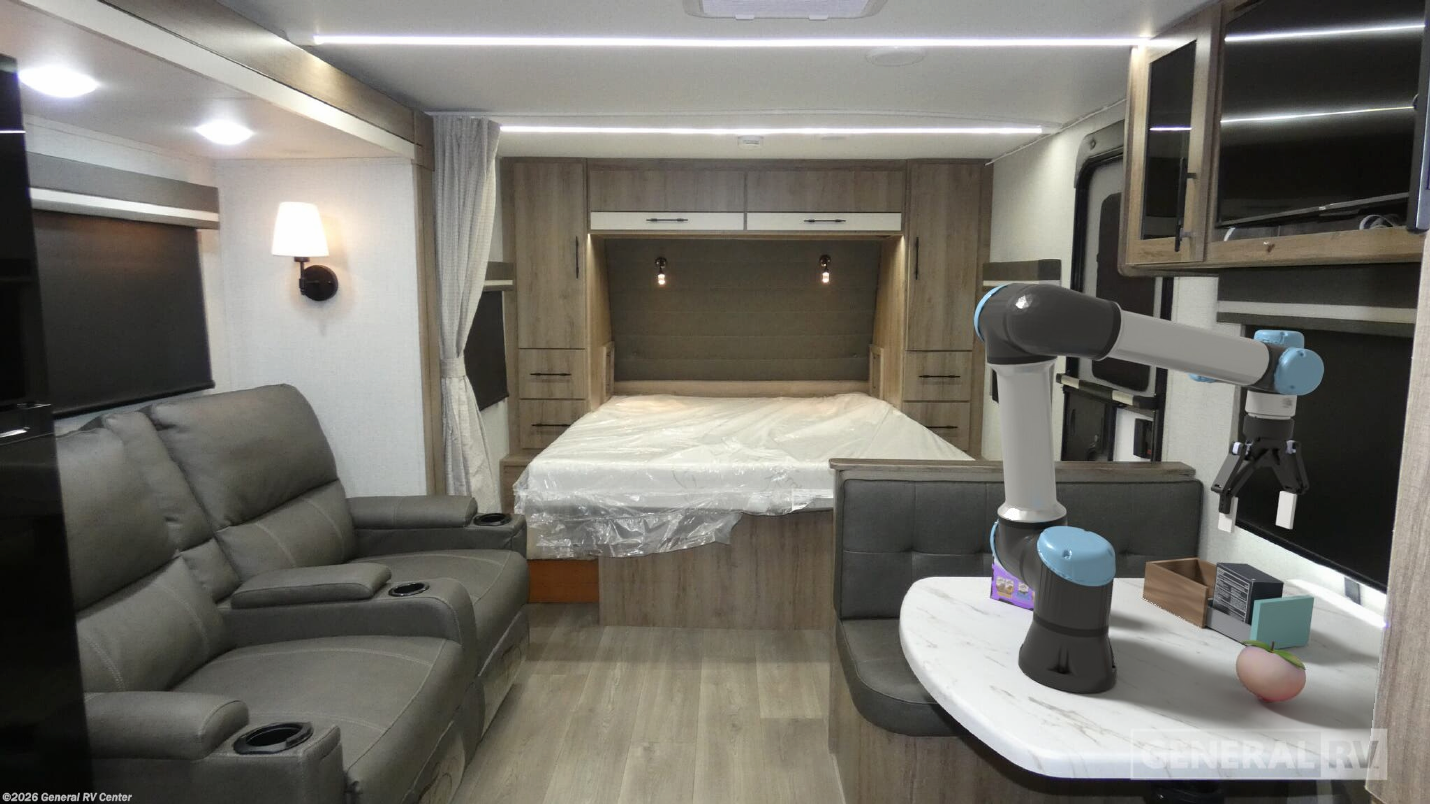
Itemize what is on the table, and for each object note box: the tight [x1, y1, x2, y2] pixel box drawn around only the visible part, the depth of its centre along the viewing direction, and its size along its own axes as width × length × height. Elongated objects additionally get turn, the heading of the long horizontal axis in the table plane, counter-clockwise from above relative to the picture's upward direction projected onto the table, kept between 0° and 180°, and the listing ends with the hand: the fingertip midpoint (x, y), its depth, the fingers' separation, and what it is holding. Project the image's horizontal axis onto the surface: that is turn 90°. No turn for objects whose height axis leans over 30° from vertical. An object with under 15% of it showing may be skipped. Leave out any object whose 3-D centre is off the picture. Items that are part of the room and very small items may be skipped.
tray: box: [1205, 594, 1315, 650], centre depth 153 cm, size 12×15×9 cm
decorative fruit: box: [1235, 640, 1307, 703], centre depth 127 cm, size 9×8×10 cm
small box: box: [1212, 561, 1285, 626], centre depth 153 cm, size 11×6×10 cm, turn 1°
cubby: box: [1142, 557, 1216, 629], centre depth 163 cm, size 13×15×8 cm
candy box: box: [989, 521, 1035, 611], centre depth 164 cm, size 14×6×16 cm, turn 44°
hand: (1255, 529), depth 151 cm, fingers open, 13 cm apart
